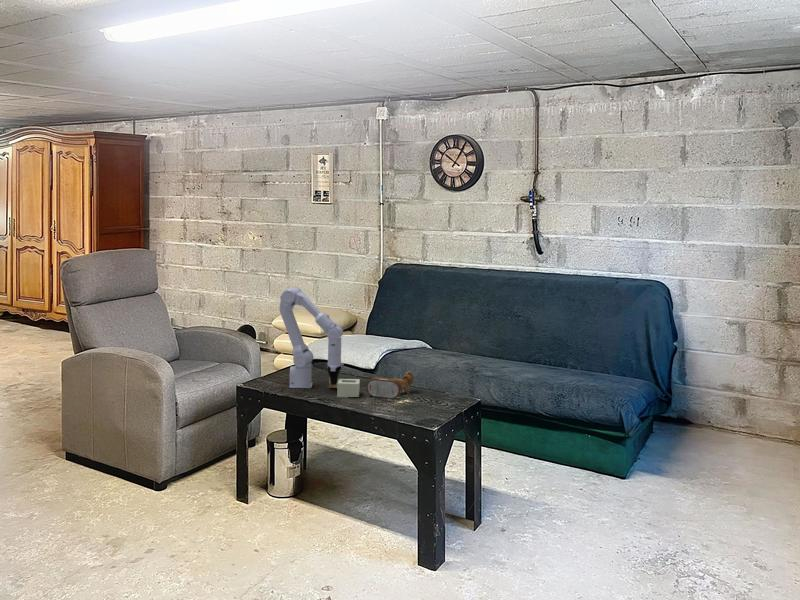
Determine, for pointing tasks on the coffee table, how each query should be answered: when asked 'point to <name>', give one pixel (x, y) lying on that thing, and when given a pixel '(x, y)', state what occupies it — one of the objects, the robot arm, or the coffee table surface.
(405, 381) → the lion figurine
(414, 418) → the coffee table surface
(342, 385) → the box
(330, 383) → the block
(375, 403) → the coffee table surface
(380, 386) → the tin
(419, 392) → the coffee table surface
